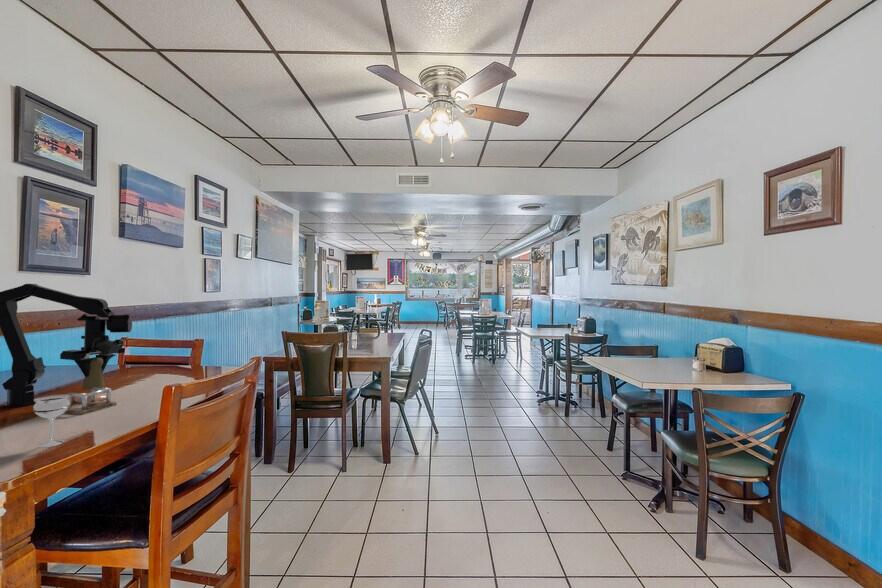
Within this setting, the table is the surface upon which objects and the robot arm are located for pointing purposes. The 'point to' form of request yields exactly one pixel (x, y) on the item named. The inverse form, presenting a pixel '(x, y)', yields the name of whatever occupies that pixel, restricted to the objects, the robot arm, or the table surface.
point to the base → (94, 407)
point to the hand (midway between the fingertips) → (93, 375)
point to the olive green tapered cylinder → (94, 375)
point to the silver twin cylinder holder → (93, 394)
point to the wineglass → (51, 412)
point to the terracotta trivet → (98, 398)
